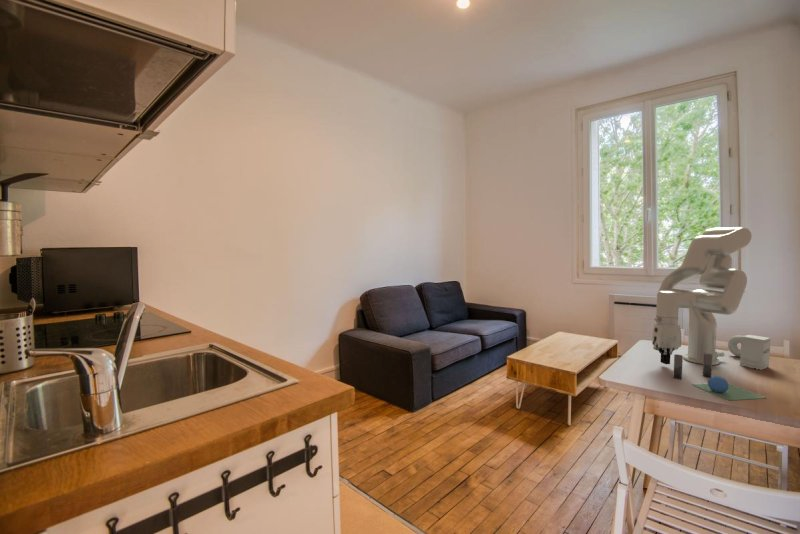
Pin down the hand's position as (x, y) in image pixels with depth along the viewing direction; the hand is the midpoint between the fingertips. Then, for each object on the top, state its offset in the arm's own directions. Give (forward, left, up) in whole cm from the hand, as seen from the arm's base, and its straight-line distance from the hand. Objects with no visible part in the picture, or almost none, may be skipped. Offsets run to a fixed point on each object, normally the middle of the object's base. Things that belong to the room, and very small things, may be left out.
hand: (665, 363), depth 160 cm
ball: (+4, +27, +1) cm, 28 cm away
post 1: (+6, +13, -2) cm, 15 cm away
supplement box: (-37, +5, -2) cm, 37 cm away
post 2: (-6, +13, -2) cm, 15 cm away
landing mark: (0, +27, -2) cm, 27 cm away
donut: (-44, -7, -2) cm, 45 cm away
